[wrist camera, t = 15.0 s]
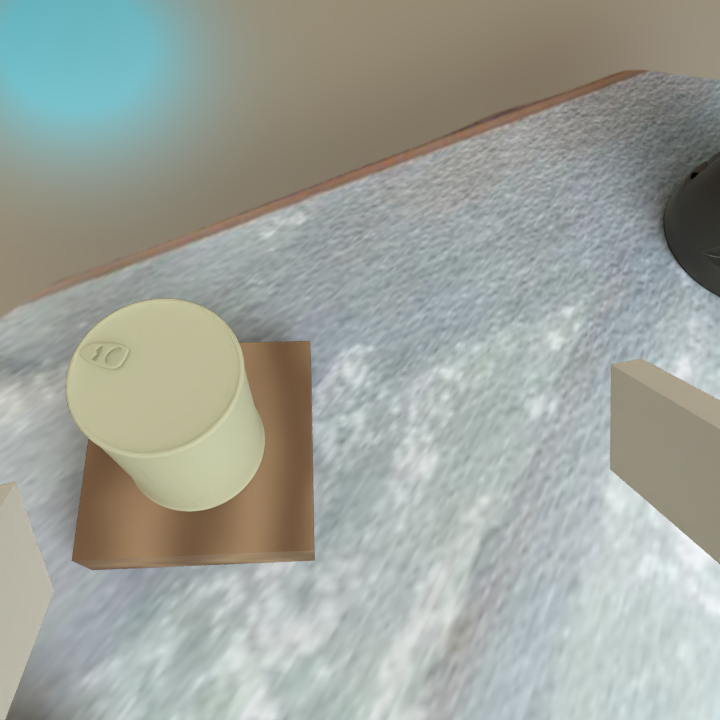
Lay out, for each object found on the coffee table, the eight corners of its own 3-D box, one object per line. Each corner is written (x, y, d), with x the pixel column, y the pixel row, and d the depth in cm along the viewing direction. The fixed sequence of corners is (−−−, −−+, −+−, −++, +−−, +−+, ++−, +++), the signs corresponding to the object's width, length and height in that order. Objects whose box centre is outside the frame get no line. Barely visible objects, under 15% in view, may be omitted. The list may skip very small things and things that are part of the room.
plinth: (310, 364, 52) (309, 341, 48) (314, 560, 45) (313, 550, 41) (117, 369, 51) (101, 345, 47) (92, 570, 44) (71, 560, 41)
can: (161, 366, 47) (110, 273, 36) (283, 402, 46) (269, 317, 35) (103, 488, 43) (25, 424, 32) (236, 530, 42) (202, 478, 31)
